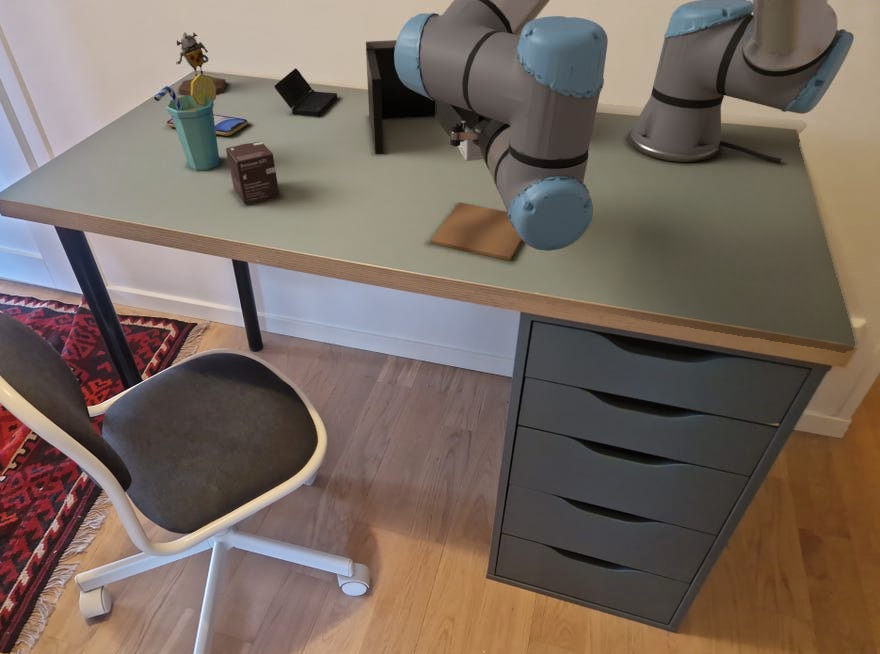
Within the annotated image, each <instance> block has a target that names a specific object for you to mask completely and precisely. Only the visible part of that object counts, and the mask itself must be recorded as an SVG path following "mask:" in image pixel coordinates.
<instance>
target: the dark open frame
mask: <svg viewBox="0 0 880 654" xmlns="http://www.w3.org/2000/svg"><path fill="white" fill-rule="evenodd" d="M396 41H397V39H392V40H391V39H390V40H389V39H388V40H370V41H365V59H366V61H365V62H366V76H367V78H366V81H367V98H368V99H367V100H368V117H369V124H370V129H371V134H372V140H373V141H372V142H373V148H374V154H375V155H381V154H382V155H383V154H385V153H384V126H383V125H384V124H383V120H390V119H391V120H392V119H408V118H409V119H410V118H424V117H425V118H426V117H435V100H431V99H429V98H427V97H425V96H423V95H421V94H419V93H417V92H415V91H413V90H411V89H409V88H408V87H406V86H405V85H404V84H403V83H402V82H401V80H400V79H399V77H398V74H397V71H396V68H395V61H394V52H395V45H396Z"/></svg>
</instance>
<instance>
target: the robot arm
mask: <svg viewBox="0 0 880 654" xmlns="http://www.w3.org/2000/svg"><path fill="white" fill-rule="evenodd" d="M549 2H551V0H453V1H452V2H451V3H450V4H449V6H448V7H447V8H446V9H445V11H444V12H443V13H442V14H441V15H440V14H439V13H436V12H430V13H426V12H425V13H418V14H416V15H415V16H412V17H411V18H409V19H408V20H407V21H406V22H405V23H404V25H403V26H402V28H401V29H400V31H399V34H398V36H397V38H396V40H397V41H396V45H395V52H394V61H395V68H396V71H397V74H398V77H399V79H400V80H401V82H402V83H403V84H404V85H405V86H406V87H408V88H409V89H411V90H413V91H415V92H417V93H419V94H421V95H423V96H425V97H427V98H429V99H431V100H435V116H434V118H435V120H436V121H437V123H439V125H440V126H441V127H442V128H443V130H444V131H445V133H446V134H447V136H448V137H449V138H450V146H452V147H458V146H459V145H460V142H464V141H465V140H472V141H473V143H474V144H475V145H477V146H479V147H480V150H481V154H482V156H483V161H484V163H485V165H486V168H487V170H488V171H489V174H490V175H491V178H492V181H493V182H494V185H495V187H496V189H497V191H498V194H499V195H500V198H501V200H502V203H503V205H504V207H505V211H506V212H507V213H508V218H509V219H510V220H509V221H510V223H511V224H512V226H513V227H514V228H515V230H516V231H517V233H518V234H519V236H520V238H521V239H522V241H523V242H524V243H525V244H526V245H527V246H529V247H530V248H533V249H535V250H539V251H545V252H546V251H548V252H551V251H558V250H560V249H565V248H566V247H568V246H571V245H572V244H574V243H576V242H577V241H578V240H579V239H581V238H582V236H583V235H584V234H585V233H586V232H587V230H588V229H589V226H590V225H591V222H592V220H593V216H594V205H593V200H592V197H591V196H590V191H589V188H588V187H587V185H586V184H585V183H584V182H585V176H586V170H587V167H588V161H589V160H588V159H589V150H590V145H591V139H592V135H593V129H594V125H595V120H596V115H597V110H598V105H599V99H600V95H601V92H602V89H603V88H604V84H605V78H604V74H605V67H606V58H607V51H608V44H609V39H608V34H607V32H606V30H605V29H604V27H602V26H601V24H599V23H597V22H595V21H593V20H590V19H586V18H583V17H576V16H573V17H572V16H571V17H567V16H564V15H551V16H543V17H538V16H539V15H540V14H541V13H542V11H543V10H544V8H546V6H547V5H548V4H549ZM537 17H538V18H537ZM854 37H855V35H854V34H853V33H852V32H850V31H847V30H846V29H844V28H841V29H838V16H837V13H836V12H835V10H834V8H833V7H832V5H830V4H829V3H828V0H752V1H751V0H693V1H689V2H685V3H683V4H681V5H679V6H678V7H676V8H675V9H674V10H673V12H672V13H671V16H670V19H669V22H668V25H667V28H666V31H665V33H664V36H663V43H662V47H661V51H660V56H659V58H658V59H659V60H658V65H657V67H656V72H655V77H654V80H653V85H652V89H651V93H650V97H649V99H648V100H647V102H646V103H645V105H644V107H643V108H642V111H641V112H640V114H639V115H638V117H637V119H636V121H635V122H634V124H633V126H632V128H631V130H630V135H629V143H630V145H631V146H632V147H633V148H634V149H635V150H637V151H639V153H641V154H643V155H646V156H649V157H652V158H655V159H658V160H661V161H667V162H676V163H693V162H694V163H695V162H702V161H706V160H708V159H711V158H713V157H714V156H716V155H717V153H718V151H719V149H720V146H722V147H725V148H729V149H732V150H735V151H738V152H742V153H744V154H747V155H750V156H753V157H755V158H759V159H761V160H766V161H769V162H772V163H777V164H781V162H782V158H781V157H774V156H771V155H767V154H764V153H760V152H759V151H755V150H753V149H750V148H746V147H743V146H740V145H736V144H733V143H730V142H728V141H727V142H726V141H723V140H722V104H723V101H724V99H725V97H729V98H734V99H737V100H741V101H746V102H748V103H754V104H758V105H761V106H766V107H769V108H773V109H775V110H780V111H781V112H782V113H786V112H789V113H794V114H801V115H802V114H803V115H804V114H807V113H810V112H811V111H813V109H815V108H816V107H817V106H818V104H819V103H820V102H821V100H822V99H823V97H824V96H825V94H826V93H827V91H828V90H829V88H830V86H831V85H832V83H833V81H834V80H835V78H836V76H837V75H838V73H839V71H840V69H841V68H842V66H843V65H844V62H845V60H846V59H847V56H848V54H849V52H850V50H851V47H852V45H853V42H854Z"/></svg>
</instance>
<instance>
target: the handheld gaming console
mask: <svg viewBox="0 0 880 654" xmlns="http://www.w3.org/2000/svg"><path fill="white" fill-rule="evenodd" d="M274 89H275V90H276V92H277V93H278V95H280V97H281V98H282V99H283V101H284V102H285V104H287V106H288V107H289V109H291V114H292V115H298V116H309V117H318V118H319V117H320V116H322V114H324V112H325V111H326V110H328V108H329V107H330V106H331V105H332V104H333V103H335V101H336V100H337V99H338V93H337V92H328V91H327V92H326V91H315V90H314V89H313V87H311V86H310V84H309V83H308V81H307V80H306V78H305V77H304V76H303V75H302V73H301V72H300V70H298V68H294V69H293V70H291V71H290V72H289V73H287V75H285V76H284V77H283V78H282V79H280V81H278V82H277V83H275V85H274Z"/></svg>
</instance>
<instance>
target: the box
mask: <svg viewBox="0 0 880 654" xmlns="http://www.w3.org/2000/svg"><path fill="white" fill-rule="evenodd" d="M225 153H226V158H227V163H228V166H229V171H230V177H231V182H232V185H233V187H232V188H233V190H234V191H235V193H236V194H237V196H238V197H239V199H240V200H241V201H242V203H243V204H244V205H250V204H255V203H259V202H263V201H268V200H270V199H274V198H278V197H280V190H279V183H278V177H277V170H276V164H275V158H274V154H273V152H272V151H271V150H270V149H269V148H268V147H267V146H266V145H265V143H264V142H263V141H262V140H261V141H255V142H249V143H242V144H239V145H235V146H229V147H226V148H225Z"/></svg>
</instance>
